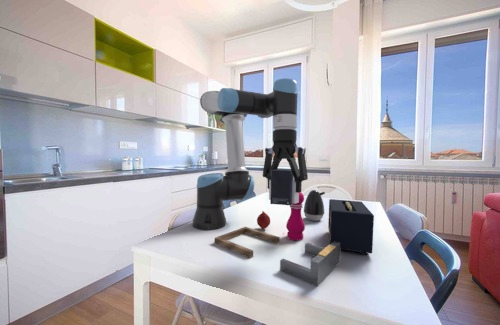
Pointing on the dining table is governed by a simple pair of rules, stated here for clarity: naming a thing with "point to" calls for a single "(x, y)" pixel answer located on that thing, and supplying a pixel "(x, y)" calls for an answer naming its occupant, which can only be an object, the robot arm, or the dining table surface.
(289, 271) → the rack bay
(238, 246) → the holder
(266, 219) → the onion
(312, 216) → the pump dispenser
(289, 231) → the pepper mill
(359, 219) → the black toaster
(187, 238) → the dining table surface
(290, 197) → the small box
